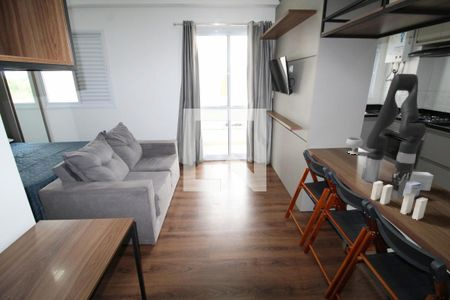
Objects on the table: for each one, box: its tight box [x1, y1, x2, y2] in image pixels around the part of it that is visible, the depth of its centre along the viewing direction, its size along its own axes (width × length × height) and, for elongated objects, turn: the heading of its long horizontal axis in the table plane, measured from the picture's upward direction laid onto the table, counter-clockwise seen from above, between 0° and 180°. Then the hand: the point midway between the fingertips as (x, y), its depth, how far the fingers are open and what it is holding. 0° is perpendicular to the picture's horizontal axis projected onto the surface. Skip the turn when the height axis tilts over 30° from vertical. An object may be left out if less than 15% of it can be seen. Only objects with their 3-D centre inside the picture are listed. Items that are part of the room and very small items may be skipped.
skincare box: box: [407, 171, 434, 191], centre depth 142 cm, size 10×6×10 cm, turn 73°
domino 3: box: [391, 179, 406, 201], centre depth 120 cm, size 2×5×11 cm, turn 113°
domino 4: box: [399, 192, 416, 215], centre depth 117 cm, size 2×5×11 cm, turn 113°
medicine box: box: [402, 181, 421, 198], centre depth 133 cm, size 8×4×9 cm, turn 106°
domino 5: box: [411, 196, 428, 221], centre depth 112 cm, size 2×5×11 cm, turn 113°
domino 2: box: [379, 184, 394, 206], centre depth 126 cm, size 2×5×11 cm, turn 113°
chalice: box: [345, 136, 364, 156], centre depth 213 cm, size 14×14×15 cm
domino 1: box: [370, 180, 384, 201], centre depth 131 cm, size 2×5×11 cm, turn 113°
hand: (398, 189), depth 120 cm, fingers closed on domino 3, 5 cm apart
